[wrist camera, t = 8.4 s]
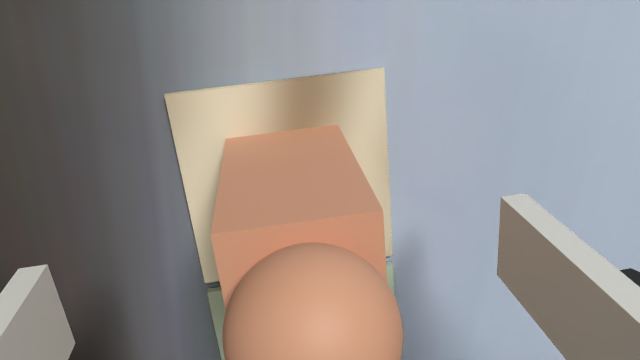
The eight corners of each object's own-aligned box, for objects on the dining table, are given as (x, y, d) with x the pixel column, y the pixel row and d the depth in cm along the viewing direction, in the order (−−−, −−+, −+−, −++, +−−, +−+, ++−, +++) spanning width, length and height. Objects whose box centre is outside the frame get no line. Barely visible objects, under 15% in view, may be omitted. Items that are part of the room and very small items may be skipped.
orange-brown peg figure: (337, 124, 21) (428, 295, 10) (346, 223, 23) (431, 458, 12) (225, 138, 21) (194, 330, 10) (243, 237, 22) (232, 493, 11)
